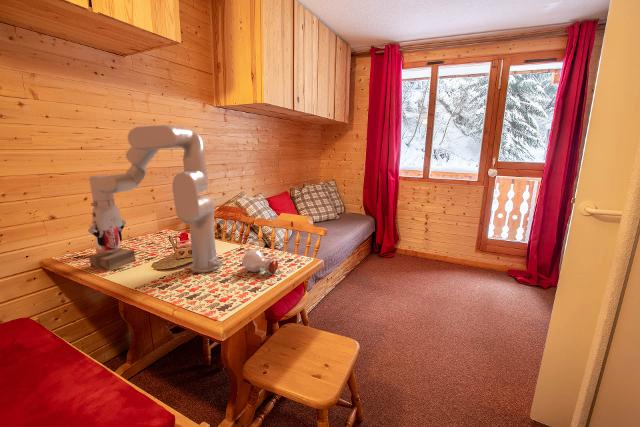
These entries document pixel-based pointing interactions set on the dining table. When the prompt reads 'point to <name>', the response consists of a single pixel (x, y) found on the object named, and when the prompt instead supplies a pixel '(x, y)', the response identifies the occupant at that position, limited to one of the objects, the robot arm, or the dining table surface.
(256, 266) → the potion bottle
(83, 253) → the dining table surface
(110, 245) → the soda can
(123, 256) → the walnut block
